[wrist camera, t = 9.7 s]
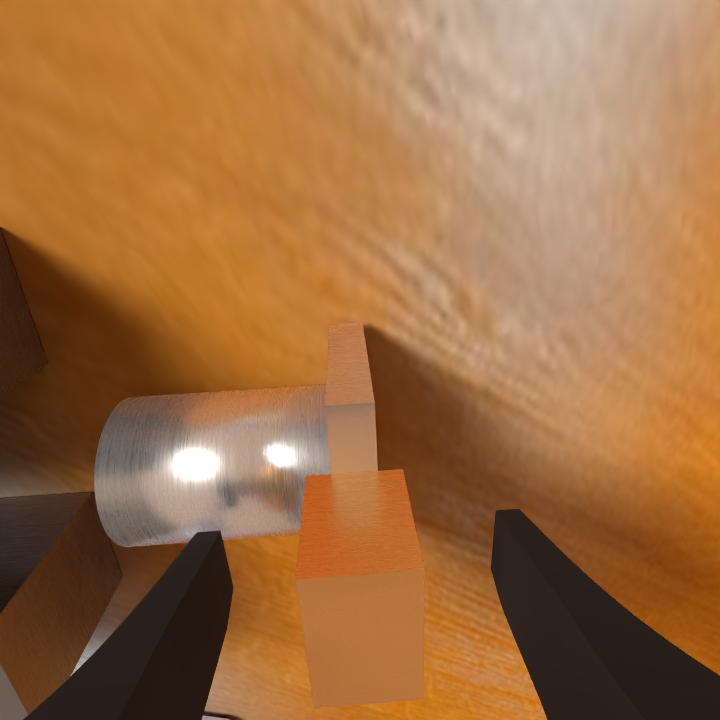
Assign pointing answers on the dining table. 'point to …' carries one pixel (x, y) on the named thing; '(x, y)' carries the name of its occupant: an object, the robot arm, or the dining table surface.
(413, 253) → the dining table surface
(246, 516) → the end cover
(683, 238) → the dining table surface
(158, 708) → the robot arm
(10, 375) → the housing
